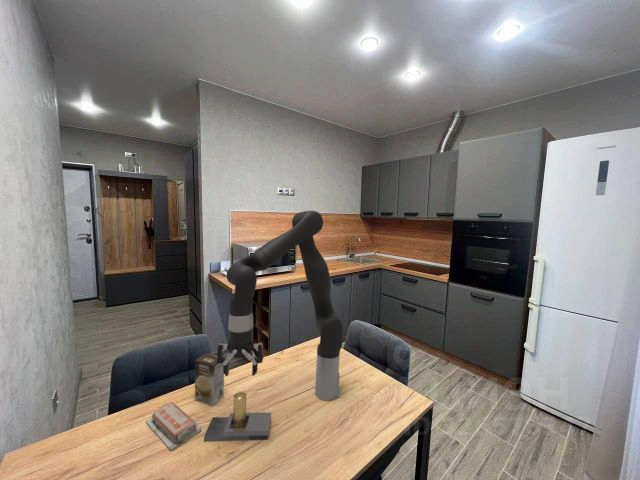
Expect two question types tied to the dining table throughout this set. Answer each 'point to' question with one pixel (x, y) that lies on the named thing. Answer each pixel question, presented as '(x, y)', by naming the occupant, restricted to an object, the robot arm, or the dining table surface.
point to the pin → (239, 410)
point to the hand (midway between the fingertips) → (240, 374)
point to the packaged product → (173, 425)
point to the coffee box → (208, 379)
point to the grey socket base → (254, 431)
